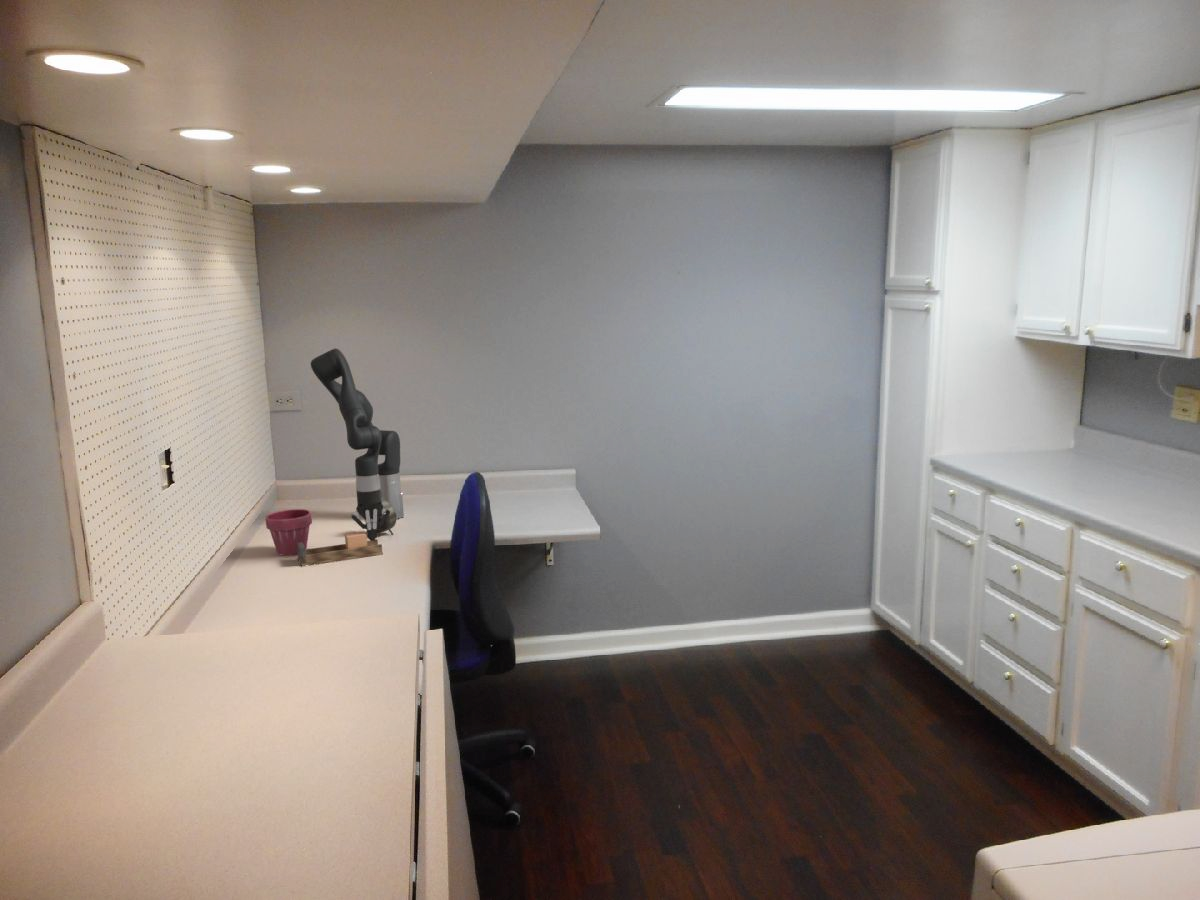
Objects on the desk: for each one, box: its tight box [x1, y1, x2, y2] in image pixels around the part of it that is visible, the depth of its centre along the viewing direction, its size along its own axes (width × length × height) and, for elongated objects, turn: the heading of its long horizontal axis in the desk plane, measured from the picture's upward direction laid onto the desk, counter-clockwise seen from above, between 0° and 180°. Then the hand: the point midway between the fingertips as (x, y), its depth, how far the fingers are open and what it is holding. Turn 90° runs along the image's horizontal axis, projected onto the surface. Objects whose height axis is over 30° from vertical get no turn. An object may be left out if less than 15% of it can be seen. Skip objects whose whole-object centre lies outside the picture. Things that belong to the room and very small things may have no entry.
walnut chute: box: [297, 538, 384, 567], centre depth 275 cm, size 25×9×6 cm, turn 116°
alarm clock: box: [370, 491, 397, 536], centre depth 299 cm, size 11×5×16 cm, turn 65°
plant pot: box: [265, 508, 313, 556], centre depth 281 cm, size 14×14×13 cm
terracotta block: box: [344, 530, 368, 549], centre depth 277 cm, size 6×5×6 cm
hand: (372, 539), depth 279 cm, fingers closed
